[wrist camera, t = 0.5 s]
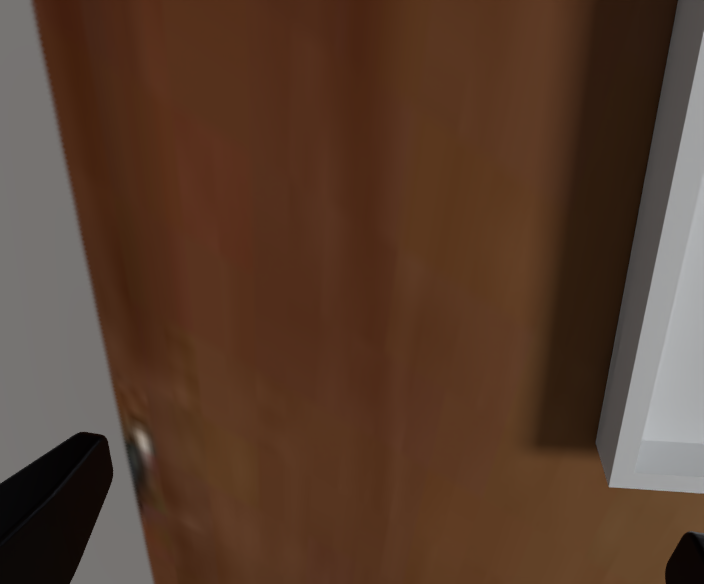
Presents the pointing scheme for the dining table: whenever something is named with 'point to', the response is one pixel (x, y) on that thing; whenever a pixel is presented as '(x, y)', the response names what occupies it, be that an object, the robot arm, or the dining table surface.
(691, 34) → the tray
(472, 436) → the dining table surface
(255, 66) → the dining table surface
